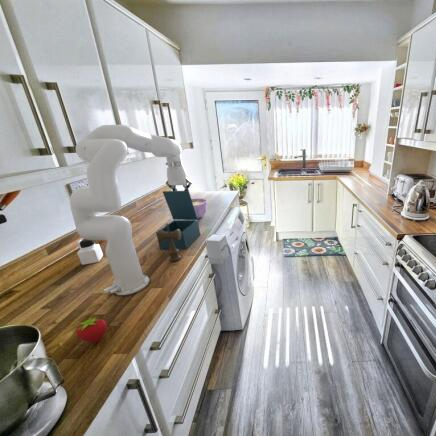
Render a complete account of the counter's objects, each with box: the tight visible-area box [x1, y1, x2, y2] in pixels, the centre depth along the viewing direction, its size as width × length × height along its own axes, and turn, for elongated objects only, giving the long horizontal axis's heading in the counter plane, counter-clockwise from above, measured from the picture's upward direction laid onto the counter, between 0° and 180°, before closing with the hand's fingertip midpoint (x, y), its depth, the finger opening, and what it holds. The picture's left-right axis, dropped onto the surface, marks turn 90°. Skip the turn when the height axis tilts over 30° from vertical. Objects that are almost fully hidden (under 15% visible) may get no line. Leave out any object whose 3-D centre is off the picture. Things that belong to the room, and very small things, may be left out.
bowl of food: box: [191, 197, 208, 219], centre depth 174 cm, size 20×20×12 cm
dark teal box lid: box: [162, 190, 199, 221], centre depth 140 cm, size 19×15×5 cm
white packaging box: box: [204, 233, 230, 266], centre depth 115 cm, size 7×7×13 cm
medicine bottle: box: [76, 238, 104, 266], centre depth 120 cm, size 7×7×12 cm
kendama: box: [156, 222, 182, 262], centre depth 116 cm, size 6×10×20 cm, turn 94°
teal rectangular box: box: [155, 219, 201, 250], centre depth 137 cm, size 18×15×10 cm
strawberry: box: [75, 316, 108, 344], centre depth 73 cm, size 6×8×10 cm
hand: (181, 195), depth 139 cm, fingers closed on dark teal box lid, 6 cm apart
